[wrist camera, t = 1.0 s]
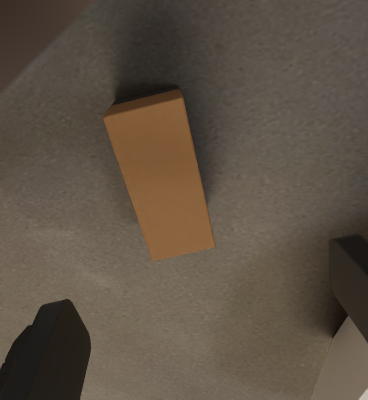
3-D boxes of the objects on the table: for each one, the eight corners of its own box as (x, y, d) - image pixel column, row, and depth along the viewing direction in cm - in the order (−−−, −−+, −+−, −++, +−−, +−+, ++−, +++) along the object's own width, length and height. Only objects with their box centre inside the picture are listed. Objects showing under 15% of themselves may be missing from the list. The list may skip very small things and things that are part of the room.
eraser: (153, 223, 23) (152, 261, 19) (114, 100, 19) (101, 116, 15) (206, 211, 23) (216, 247, 19) (178, 84, 19) (183, 96, 15)
